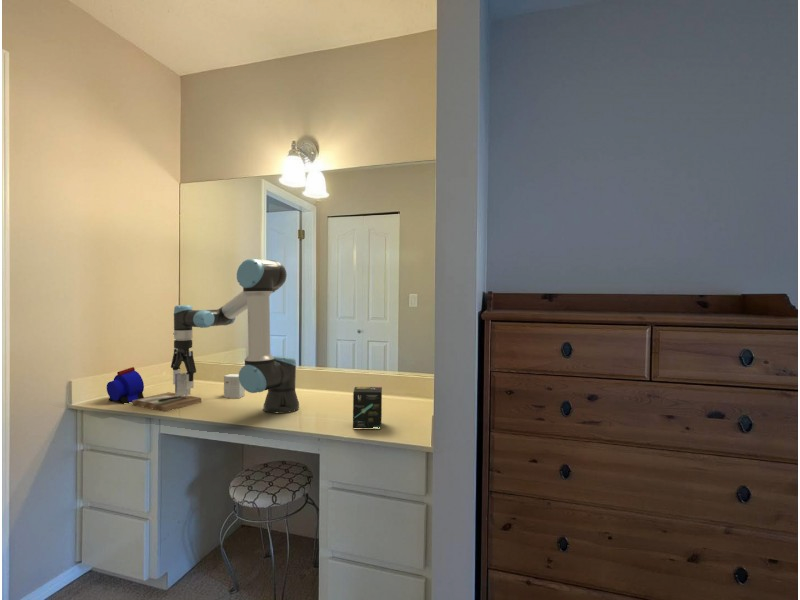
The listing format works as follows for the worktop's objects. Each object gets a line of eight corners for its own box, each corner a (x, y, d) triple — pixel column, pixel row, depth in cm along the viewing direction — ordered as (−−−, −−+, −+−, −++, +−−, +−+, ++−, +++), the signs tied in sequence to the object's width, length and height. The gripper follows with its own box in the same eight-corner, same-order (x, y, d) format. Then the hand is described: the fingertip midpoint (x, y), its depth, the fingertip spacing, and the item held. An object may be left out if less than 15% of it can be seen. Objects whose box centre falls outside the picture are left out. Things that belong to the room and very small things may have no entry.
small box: (244, 395, 221) (245, 374, 221) (239, 398, 216) (239, 376, 215) (229, 395, 222) (229, 373, 222) (223, 397, 216) (223, 375, 216)
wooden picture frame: (201, 402, 207) (201, 397, 207) (165, 411, 191) (166, 405, 191) (168, 396, 217) (168, 391, 217) (132, 404, 201) (132, 399, 201)
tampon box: (381, 422, 181) (382, 386, 181) (381, 430, 172) (381, 391, 172) (354, 422, 181) (354, 386, 181) (352, 429, 172) (352, 391, 171)
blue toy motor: (145, 399, 210) (146, 367, 210) (119, 405, 199) (119, 371, 199) (129, 396, 216) (130, 365, 215) (103, 401, 205) (103, 368, 205)
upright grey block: (188, 395, 208) (188, 372, 208) (190, 396, 207) (190, 372, 207) (158, 400, 199) (158, 375, 198) (160, 401, 197) (160, 376, 197)
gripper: (162, 337, 210) (163, 383, 210) (187, 342, 194) (187, 391, 194) (179, 336, 216) (179, 381, 216) (204, 340, 199) (204, 388, 200)
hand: (183, 386), depth 205 cm, fingers open, 13 cm apart
